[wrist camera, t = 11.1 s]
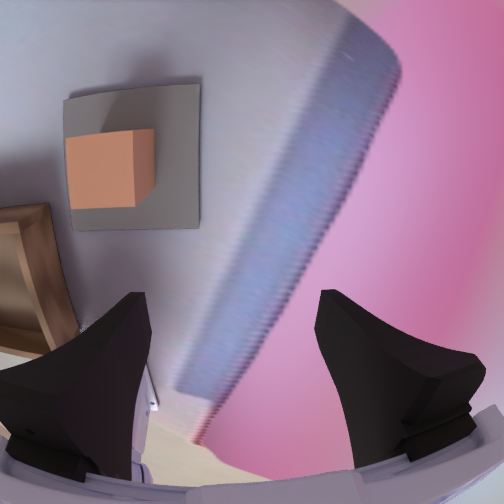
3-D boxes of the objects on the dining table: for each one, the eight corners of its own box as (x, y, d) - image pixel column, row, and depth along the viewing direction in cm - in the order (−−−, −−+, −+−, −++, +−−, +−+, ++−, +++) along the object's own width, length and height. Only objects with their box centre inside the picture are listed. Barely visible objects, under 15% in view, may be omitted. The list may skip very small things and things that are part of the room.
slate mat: (199, 226, 21) (198, 228, 21) (75, 229, 20) (72, 231, 19) (200, 84, 17) (199, 83, 16) (66, 100, 16) (63, 100, 15)
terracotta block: (154, 186, 19) (135, 206, 14) (102, 189, 19) (71, 209, 14) (154, 128, 17) (132, 130, 13) (99, 133, 17) (65, 138, 12)
